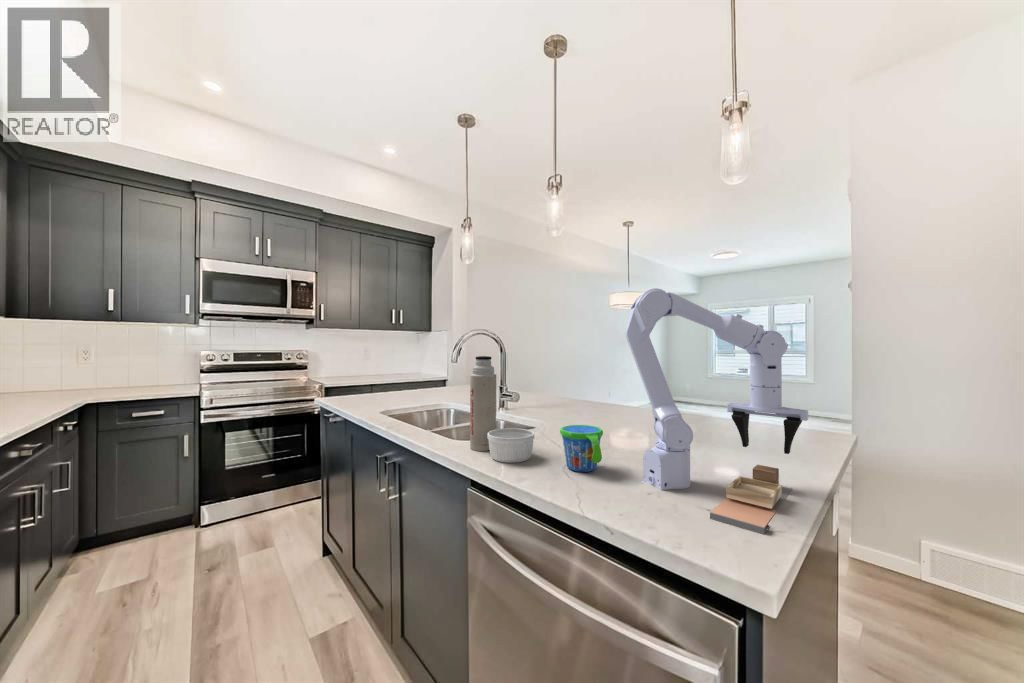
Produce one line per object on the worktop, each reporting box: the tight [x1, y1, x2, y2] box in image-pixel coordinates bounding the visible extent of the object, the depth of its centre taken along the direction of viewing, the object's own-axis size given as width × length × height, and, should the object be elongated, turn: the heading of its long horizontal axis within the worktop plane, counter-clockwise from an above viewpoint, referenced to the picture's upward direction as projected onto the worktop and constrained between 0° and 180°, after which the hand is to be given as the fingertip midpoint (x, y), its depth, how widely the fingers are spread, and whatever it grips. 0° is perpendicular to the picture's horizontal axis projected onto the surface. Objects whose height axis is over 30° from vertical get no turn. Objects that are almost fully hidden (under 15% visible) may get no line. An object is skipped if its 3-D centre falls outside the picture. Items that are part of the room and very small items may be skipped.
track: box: [709, 485, 793, 535], centre depth 78 cm, size 25×8×1 cm, turn 135°
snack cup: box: [559, 424, 604, 473], centre depth 100 cm, size 16×10×10 cm
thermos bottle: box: [469, 355, 497, 452], centre depth 120 cm, size 8×8×28 cm
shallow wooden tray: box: [725, 475, 783, 509], centre depth 78 cm, size 9×8×2 cm
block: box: [752, 464, 780, 485], centre depth 84 cm, size 4×4×4 cm
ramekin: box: [487, 427, 535, 464], centre depth 110 cm, size 13×13×7 cm
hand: (765, 449), depth 84 cm, fingers open, 7 cm apart
